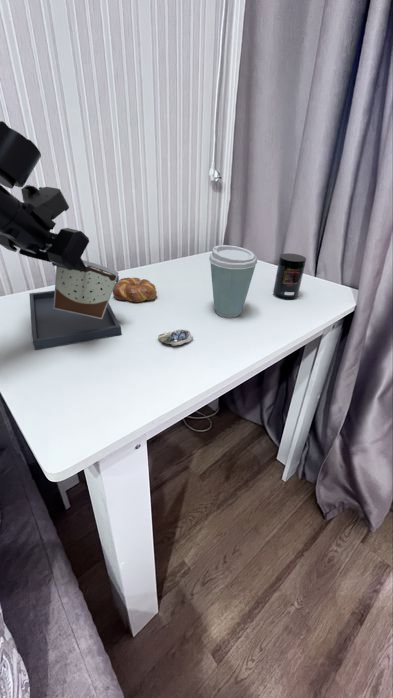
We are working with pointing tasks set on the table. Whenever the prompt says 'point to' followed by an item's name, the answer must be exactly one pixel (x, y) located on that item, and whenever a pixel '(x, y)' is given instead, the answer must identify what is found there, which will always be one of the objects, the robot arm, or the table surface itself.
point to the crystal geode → (176, 337)
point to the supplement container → (289, 275)
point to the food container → (84, 289)
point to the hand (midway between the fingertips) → (74, 266)
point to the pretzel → (134, 290)
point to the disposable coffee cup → (231, 278)
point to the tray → (66, 323)
